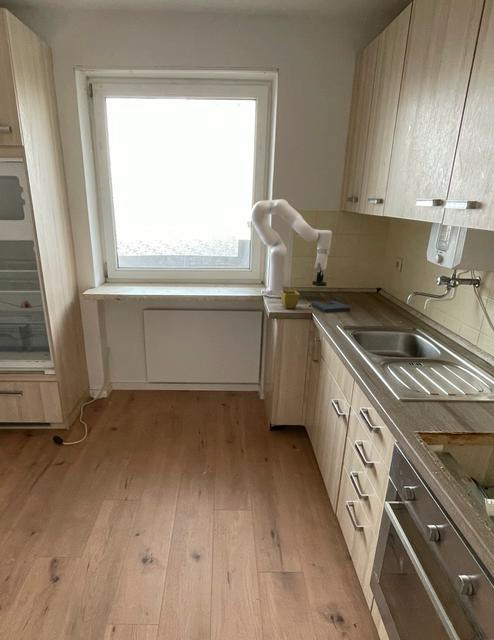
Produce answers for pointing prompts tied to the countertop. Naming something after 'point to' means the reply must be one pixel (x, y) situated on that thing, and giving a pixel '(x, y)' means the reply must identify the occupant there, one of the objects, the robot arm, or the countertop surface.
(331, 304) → the big pad
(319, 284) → the dark stamp
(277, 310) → the countertop surface
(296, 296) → the flower pot
